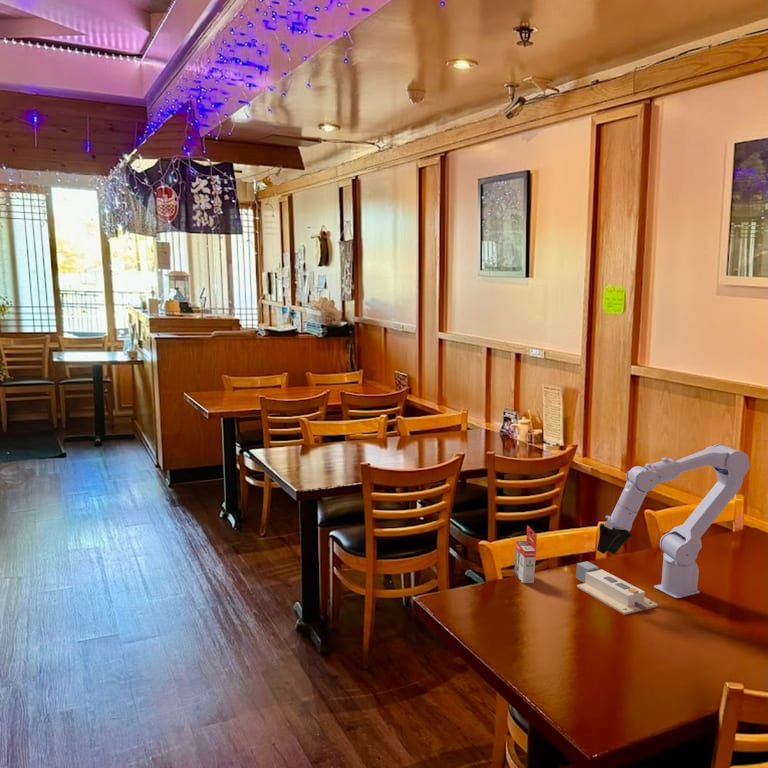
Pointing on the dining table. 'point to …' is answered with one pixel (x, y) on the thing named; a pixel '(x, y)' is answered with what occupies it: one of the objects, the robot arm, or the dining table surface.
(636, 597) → the power strip
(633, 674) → the dining table surface
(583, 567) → the charger plug
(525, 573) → the ink box
